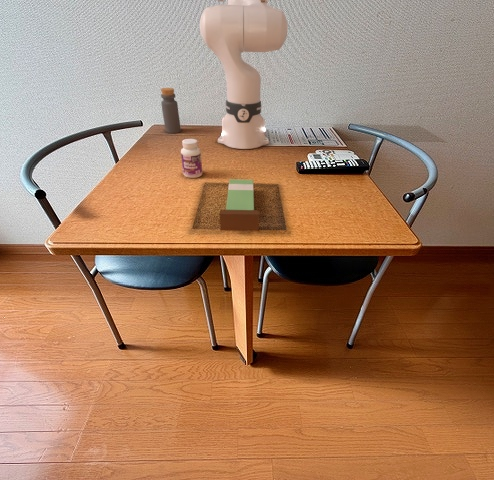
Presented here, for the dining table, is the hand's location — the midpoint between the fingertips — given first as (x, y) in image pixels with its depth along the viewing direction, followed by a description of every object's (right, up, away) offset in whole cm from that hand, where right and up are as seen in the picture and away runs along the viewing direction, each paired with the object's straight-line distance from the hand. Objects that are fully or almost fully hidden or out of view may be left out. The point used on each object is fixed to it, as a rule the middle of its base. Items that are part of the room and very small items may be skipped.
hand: (242, 1), depth 63 cm
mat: (-1, -44, +6) cm, 45 cm away
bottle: (-30, -9, +51) cm, 60 cm away
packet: (-1, -47, -1) cm, 47 cm away
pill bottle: (-15, -34, +19) cm, 42 cm away
